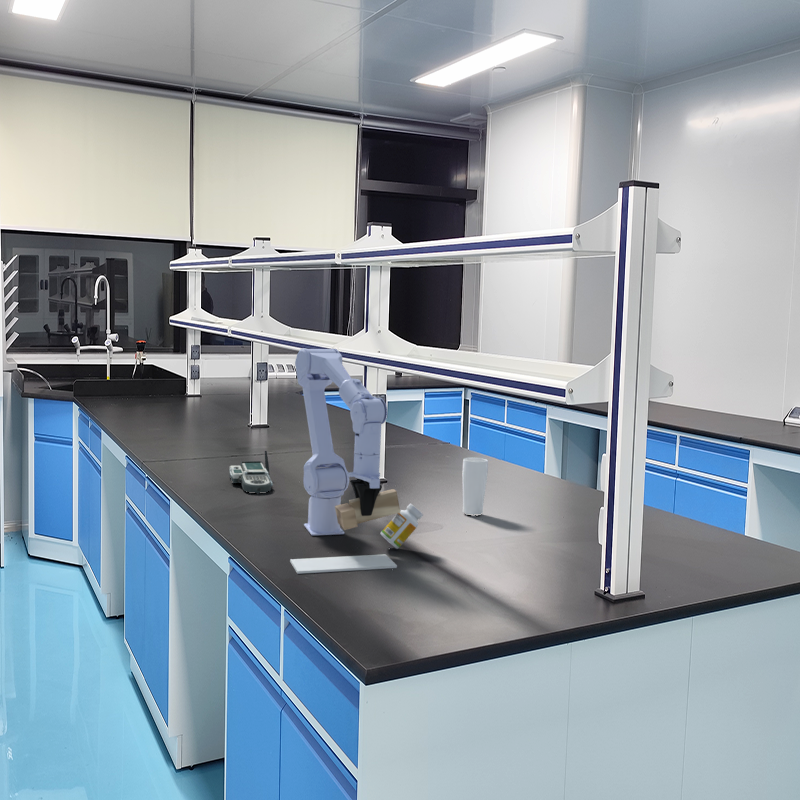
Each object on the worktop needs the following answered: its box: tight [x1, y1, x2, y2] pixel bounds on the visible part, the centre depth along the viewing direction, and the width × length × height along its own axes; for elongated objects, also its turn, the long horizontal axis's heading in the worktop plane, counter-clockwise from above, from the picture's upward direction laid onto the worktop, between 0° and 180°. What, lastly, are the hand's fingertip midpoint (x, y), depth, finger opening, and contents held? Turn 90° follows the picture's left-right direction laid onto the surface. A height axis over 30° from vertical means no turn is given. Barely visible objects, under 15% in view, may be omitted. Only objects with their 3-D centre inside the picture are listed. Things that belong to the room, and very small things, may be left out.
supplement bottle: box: [379, 503, 424, 550], centre depth 182 cm, size 5×5×10 cm
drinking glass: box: [461, 456, 489, 515], centre depth 217 cm, size 7×7×15 cm
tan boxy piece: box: [335, 488, 401, 531], centre depth 179 cm, size 6×14×5 cm, turn 108°
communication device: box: [228, 450, 274, 493], centre depth 241 cm, size 12×24×9 cm, turn 17°
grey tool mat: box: [289, 554, 398, 575], centre depth 169 cm, size 8×21×1 cm, turn 108°
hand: (364, 513), depth 179 cm, fingers closed on tan boxy piece, 2 cm apart
